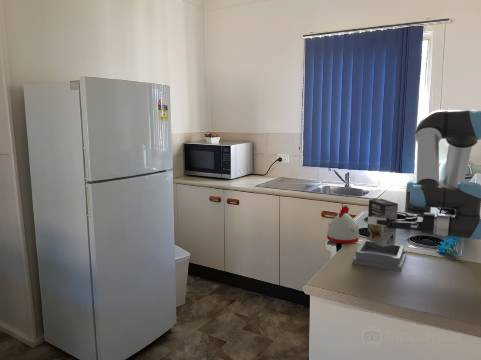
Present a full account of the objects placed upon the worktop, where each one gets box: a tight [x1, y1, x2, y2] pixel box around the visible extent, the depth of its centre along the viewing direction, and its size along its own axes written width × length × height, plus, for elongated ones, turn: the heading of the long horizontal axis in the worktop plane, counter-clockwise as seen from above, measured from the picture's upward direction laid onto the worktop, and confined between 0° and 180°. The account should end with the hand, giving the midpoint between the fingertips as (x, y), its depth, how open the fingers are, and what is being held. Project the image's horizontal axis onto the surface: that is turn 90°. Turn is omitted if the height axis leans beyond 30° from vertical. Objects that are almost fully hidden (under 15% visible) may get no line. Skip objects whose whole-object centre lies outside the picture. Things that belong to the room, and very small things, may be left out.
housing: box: [352, 239, 407, 272], centre depth 150 cm, size 17×17×4 cm
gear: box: [436, 236, 460, 258], centre depth 156 cm, size 11×6×10 cm
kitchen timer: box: [326, 205, 360, 245], centre depth 174 cm, size 14×14×15 cm
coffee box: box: [366, 198, 399, 247], centre depth 148 cm, size 9×6×16 cm
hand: (370, 216), depth 149 cm, fingers closed on coffee box, 10 cm apart
